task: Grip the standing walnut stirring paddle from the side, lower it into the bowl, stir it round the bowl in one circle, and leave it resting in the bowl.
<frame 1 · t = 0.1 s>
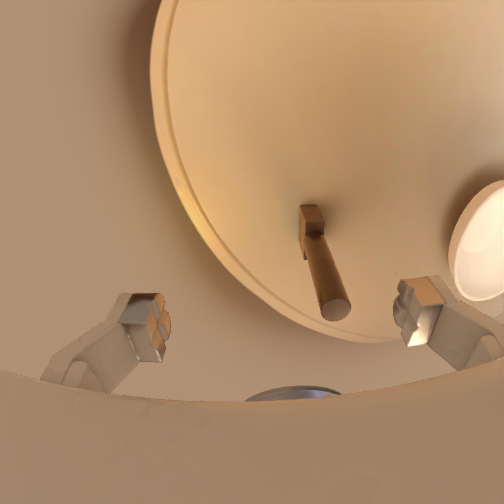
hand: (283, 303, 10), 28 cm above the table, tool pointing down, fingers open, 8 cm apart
bowl: (478, 224, 39), on the table
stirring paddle: (307, 223, 39), on the table
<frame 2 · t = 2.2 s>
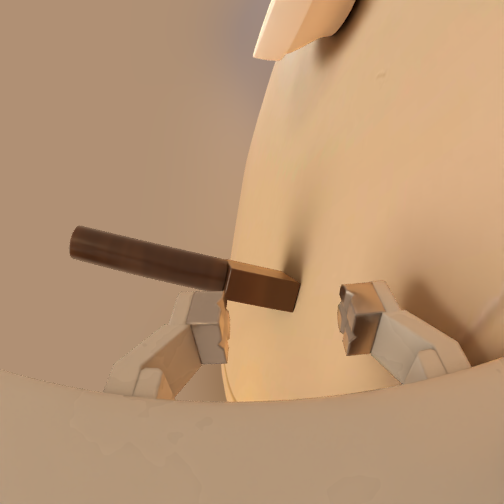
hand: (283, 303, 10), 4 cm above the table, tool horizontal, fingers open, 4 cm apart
bowl: (349, 2, 22), on the table
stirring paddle: (287, 290, 24), on the table
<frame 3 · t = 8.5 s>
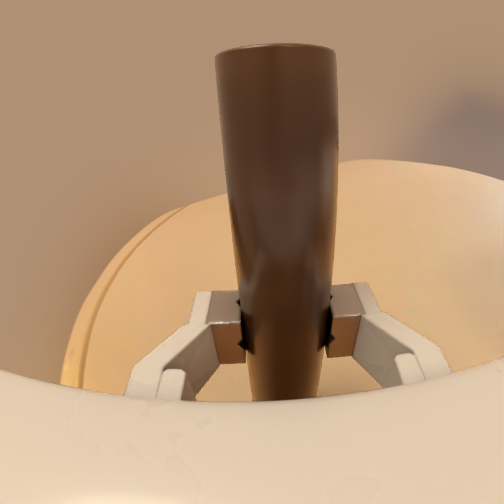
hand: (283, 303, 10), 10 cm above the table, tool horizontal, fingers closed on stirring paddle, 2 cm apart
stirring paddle: (283, 444, 14), on the table, touching gripper
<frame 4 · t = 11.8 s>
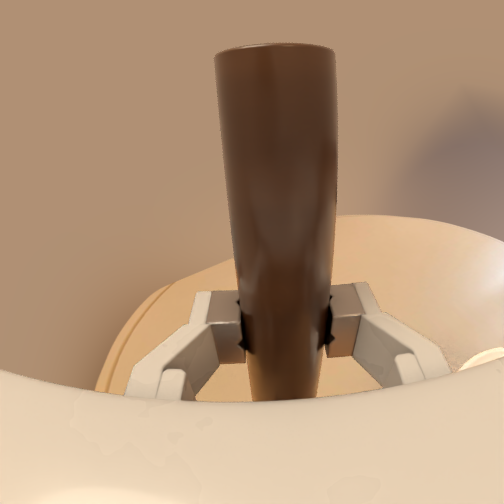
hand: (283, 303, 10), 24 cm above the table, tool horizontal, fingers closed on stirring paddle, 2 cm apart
bowl: (489, 449, 20), on the table
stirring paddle: (282, 443, 14), point 14 cm above the table, touching gripper
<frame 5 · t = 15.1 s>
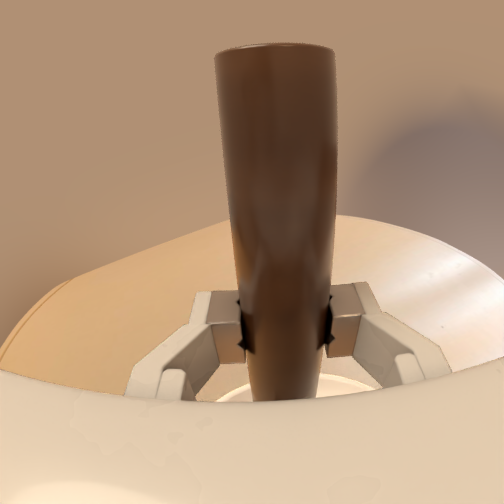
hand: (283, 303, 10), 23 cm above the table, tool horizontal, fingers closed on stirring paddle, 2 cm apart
bowl: (298, 494, 21), on the table
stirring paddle: (282, 443, 14), point 13 cm above the table, touching gripper
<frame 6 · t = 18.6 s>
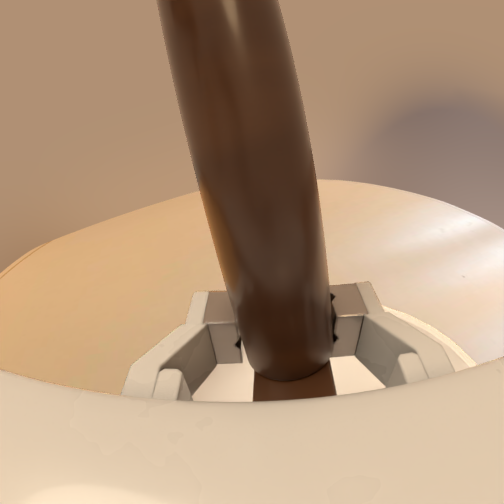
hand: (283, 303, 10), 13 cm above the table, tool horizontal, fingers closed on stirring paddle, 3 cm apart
bowl: (306, 479, 15), on the table, touching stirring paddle
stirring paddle: (304, 431, 11), point 8 cm above the table, tilted 10°, touching bowl, gripper
when the fingers open (12 cm above the table, at t = 21.7 s): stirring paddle stays where it is, resting on bowl.
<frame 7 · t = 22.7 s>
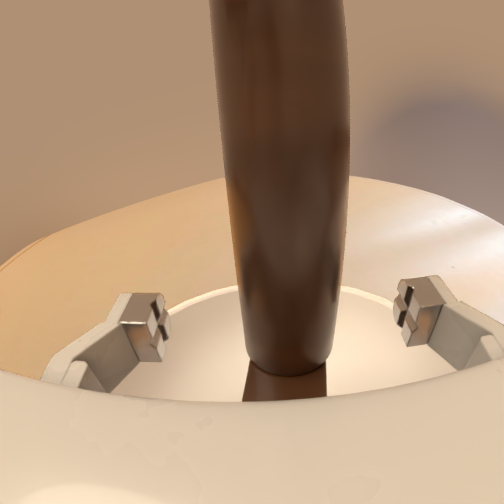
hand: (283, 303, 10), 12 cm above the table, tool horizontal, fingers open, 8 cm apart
bowl: (282, 461, 16), on the table, touching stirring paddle
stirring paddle: (287, 419, 11), point 7 cm above the table, touching bowl
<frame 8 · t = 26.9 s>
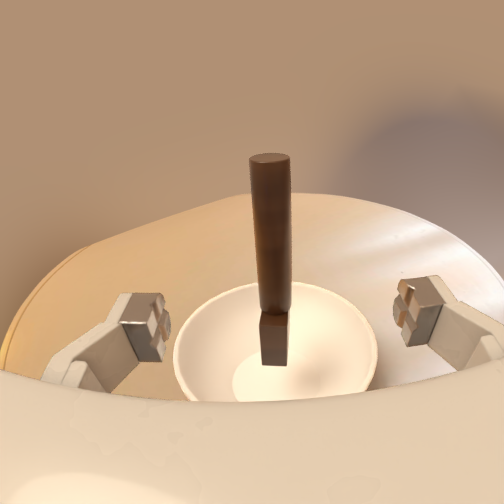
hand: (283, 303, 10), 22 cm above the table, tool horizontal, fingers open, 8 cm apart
bowl: (276, 384, 32), on the table, touching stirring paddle
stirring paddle: (276, 345, 27), point 7 cm above the table, touching bowl
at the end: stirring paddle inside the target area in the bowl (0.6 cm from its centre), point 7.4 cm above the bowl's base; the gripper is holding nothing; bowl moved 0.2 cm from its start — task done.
